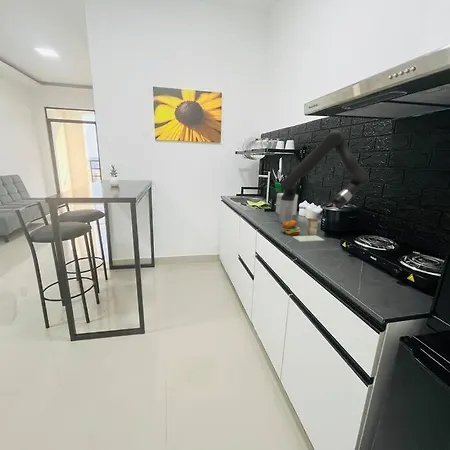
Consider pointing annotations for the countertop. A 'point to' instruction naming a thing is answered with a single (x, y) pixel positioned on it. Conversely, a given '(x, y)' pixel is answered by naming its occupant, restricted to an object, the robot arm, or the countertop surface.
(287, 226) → the cheeseburger
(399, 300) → the countertop surface
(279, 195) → the supplement box
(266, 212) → the countertop surface
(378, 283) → the countertop surface
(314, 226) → the beech block
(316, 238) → the sage board
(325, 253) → the countertop surface
